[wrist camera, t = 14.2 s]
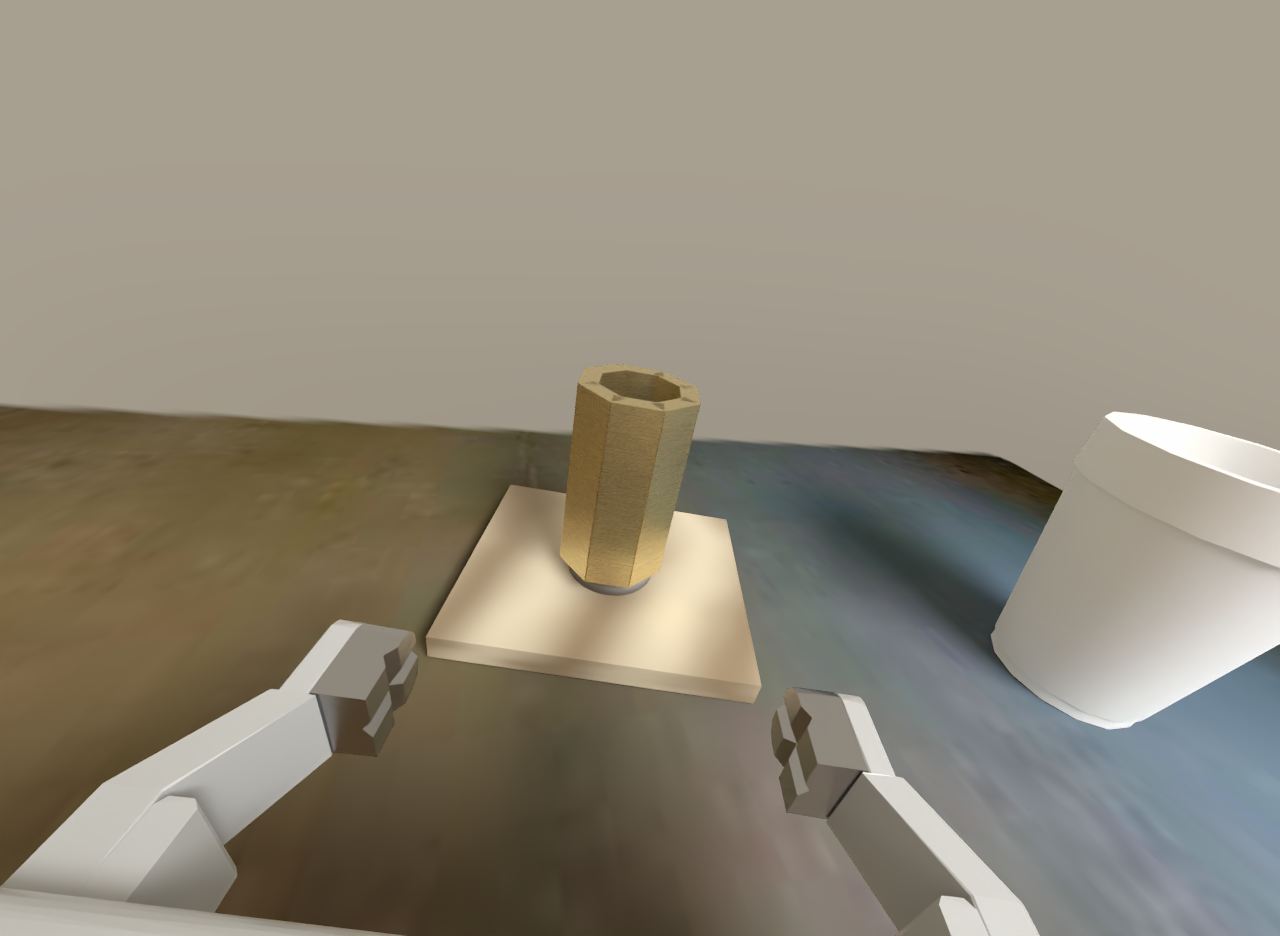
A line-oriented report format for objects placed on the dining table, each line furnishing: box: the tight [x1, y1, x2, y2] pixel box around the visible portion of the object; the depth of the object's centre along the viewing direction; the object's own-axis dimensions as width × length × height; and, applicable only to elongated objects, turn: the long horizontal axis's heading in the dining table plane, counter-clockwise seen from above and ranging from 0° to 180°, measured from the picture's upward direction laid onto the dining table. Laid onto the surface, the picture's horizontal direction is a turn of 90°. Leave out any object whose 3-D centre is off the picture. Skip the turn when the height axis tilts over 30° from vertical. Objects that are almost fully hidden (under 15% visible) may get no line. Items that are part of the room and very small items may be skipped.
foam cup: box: [991, 412, 1280, 729], centre depth 21 cm, size 10×9×13 cm
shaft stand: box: [426, 399, 761, 703], centre depth 22 cm, size 14×12×10 cm
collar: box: [560, 364, 700, 588], centre depth 21 cm, size 5×5×9 cm
